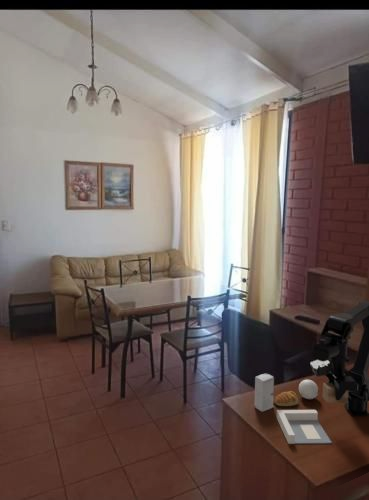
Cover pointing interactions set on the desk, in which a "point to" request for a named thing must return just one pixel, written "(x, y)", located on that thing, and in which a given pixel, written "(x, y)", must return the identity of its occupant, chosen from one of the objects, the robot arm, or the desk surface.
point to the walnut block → (333, 394)
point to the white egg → (308, 389)
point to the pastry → (286, 399)
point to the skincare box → (264, 392)
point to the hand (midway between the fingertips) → (335, 396)
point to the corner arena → (302, 427)
